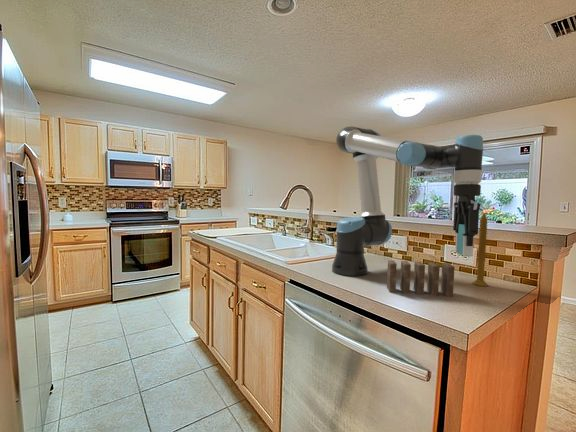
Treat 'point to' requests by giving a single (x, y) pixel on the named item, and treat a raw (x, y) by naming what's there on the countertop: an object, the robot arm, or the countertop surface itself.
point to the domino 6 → (461, 239)
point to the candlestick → (481, 251)
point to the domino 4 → (433, 278)
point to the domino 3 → (419, 277)
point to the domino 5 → (447, 279)
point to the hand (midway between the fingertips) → (463, 253)
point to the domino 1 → (391, 276)
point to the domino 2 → (405, 277)
